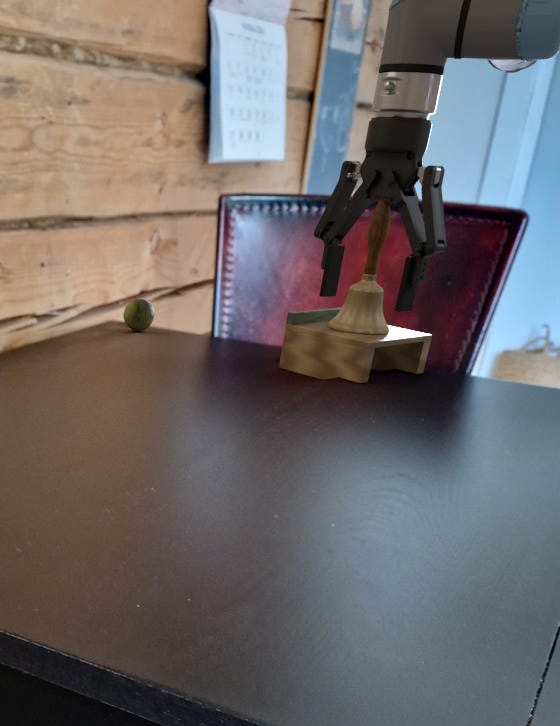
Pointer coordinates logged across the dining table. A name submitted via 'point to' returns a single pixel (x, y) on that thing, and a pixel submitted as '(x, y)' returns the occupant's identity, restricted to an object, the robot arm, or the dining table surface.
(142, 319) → the lime
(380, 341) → the shelf
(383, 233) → the hand bell
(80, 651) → the dining table surface
